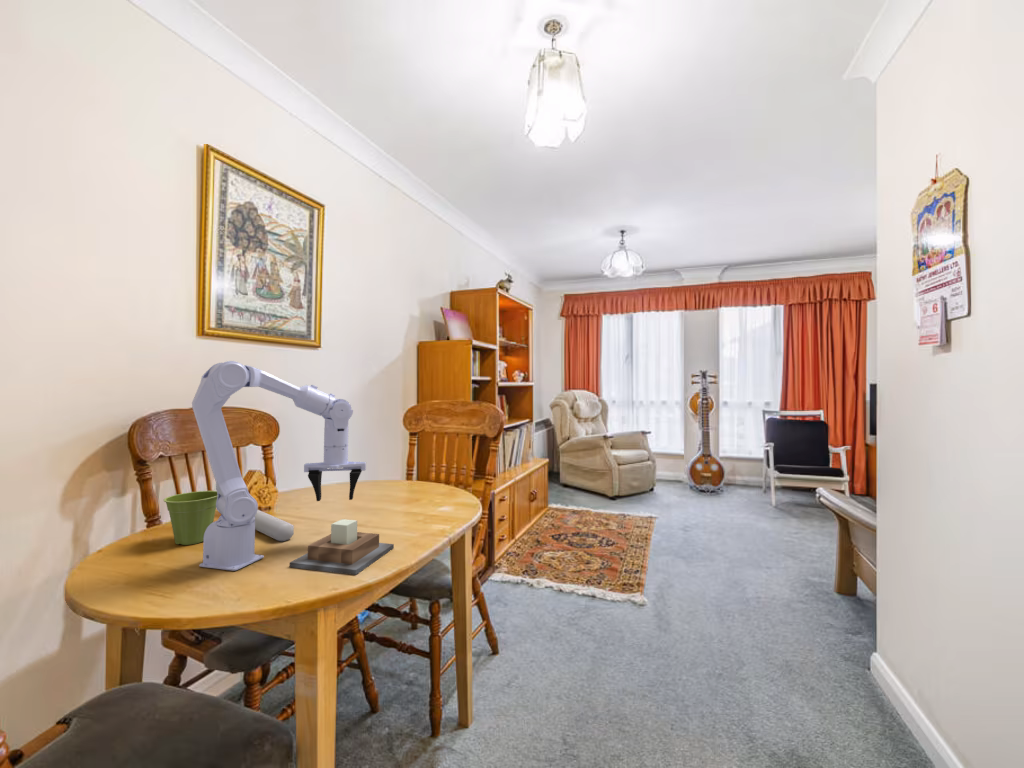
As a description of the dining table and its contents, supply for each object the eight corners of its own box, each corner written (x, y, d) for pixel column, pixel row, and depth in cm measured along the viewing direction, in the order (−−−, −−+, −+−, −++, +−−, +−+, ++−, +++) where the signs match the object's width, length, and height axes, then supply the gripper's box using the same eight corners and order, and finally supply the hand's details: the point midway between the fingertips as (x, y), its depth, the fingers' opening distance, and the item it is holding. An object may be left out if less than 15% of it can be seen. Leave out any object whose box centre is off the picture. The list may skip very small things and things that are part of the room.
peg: (330, 555, 99) (331, 524, 99) (341, 549, 103) (342, 519, 103) (346, 557, 98) (346, 525, 98) (356, 550, 102) (357, 520, 102)
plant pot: (208, 530, 118) (208, 488, 118) (229, 538, 112) (230, 494, 112) (154, 542, 108) (155, 497, 109) (174, 552, 102) (175, 504, 102)
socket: (289, 567, 94) (289, 548, 94) (335, 542, 110) (335, 526, 110) (356, 574, 91) (356, 555, 91) (393, 548, 106) (394, 531, 106)
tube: (301, 523, 113) (259, 506, 128) (281, 521, 109) (240, 504, 124) (294, 545, 111) (252, 525, 127) (273, 543, 108) (233, 523, 123)
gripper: (301, 448, 106) (300, 504, 106) (364, 447, 109) (363, 502, 109) (308, 444, 113) (306, 497, 113) (367, 443, 116) (366, 495, 116)
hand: (335, 499), depth 111 cm, fingers open, 7 cm apart
